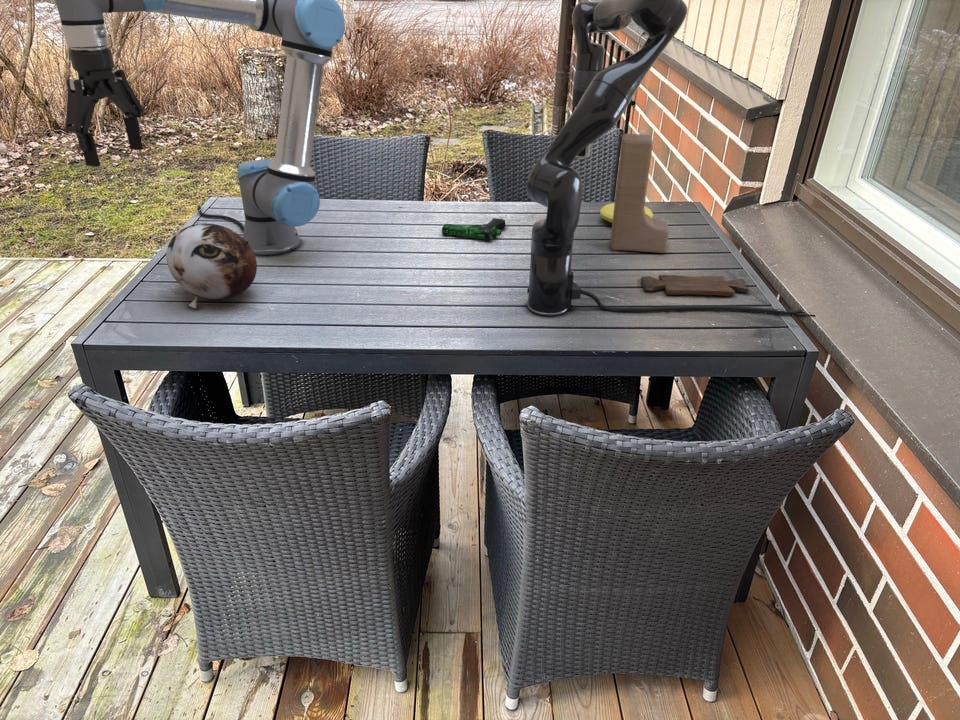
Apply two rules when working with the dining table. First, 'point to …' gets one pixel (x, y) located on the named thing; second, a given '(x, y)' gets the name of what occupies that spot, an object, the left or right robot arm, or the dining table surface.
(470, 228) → the handgun
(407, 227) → the dining table surface
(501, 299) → the dining table surface
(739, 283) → the dark wooden board
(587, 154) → the block
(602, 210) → the yellow rounded disc
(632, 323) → the dining table surface
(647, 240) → the decorative block
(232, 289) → the cat face balloon
